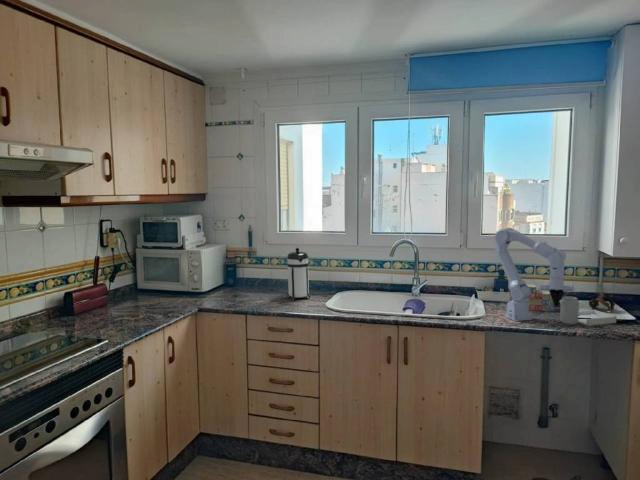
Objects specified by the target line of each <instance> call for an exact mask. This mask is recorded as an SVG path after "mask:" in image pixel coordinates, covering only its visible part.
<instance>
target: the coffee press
mask: <svg viewBox="0 0 640 480" xmlns="http://www.w3.org/2000/svg"><path fill="white" fill-rule="evenodd" d="M286 259H287V260H286V261H287V264H286V265H287V266H286V267H287V285H288V287H287V289H288V291H287V292H288V293H287V296H288V295H289V296H291V297H290V298H291V299H294V298H295V299H296V298H306V297H308V298H310V299H311V296H310V293H309V292H310V291H309V289H310V288H309V287H310V286H309V255H308V253H307V252H306V251H305V252H304V251H300V248H299V247H296V248H295V251H291V252H289V253H287V256H286Z"/></svg>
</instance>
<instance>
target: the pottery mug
mask: <svg viewBox="0 0 640 480" xmlns="http://www.w3.org/2000/svg"><path fill="white" fill-rule="evenodd" d="M600 304H602V306H604V307H606V308H607V309H606V311H610V312H611V311H613V310H614V309H615V306H616V302H615V301H614V300H613V299H611V298H610V297H608V296H605V295H601V296H599V297H597V298H594V299H593V298H591V299H590V300H589V301H588V305H589V307H590V309H591V308H592V310H597V308H596V306H598V307H599V306H600Z"/></svg>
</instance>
